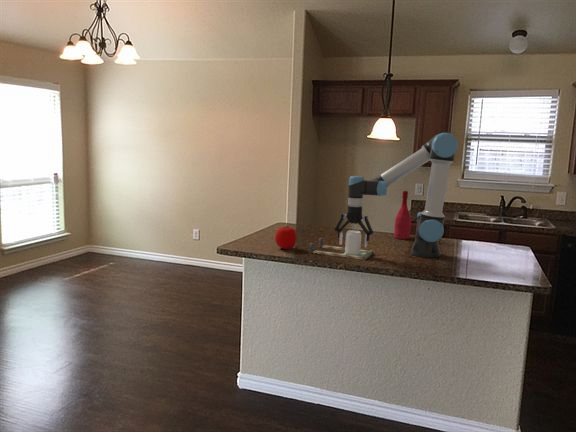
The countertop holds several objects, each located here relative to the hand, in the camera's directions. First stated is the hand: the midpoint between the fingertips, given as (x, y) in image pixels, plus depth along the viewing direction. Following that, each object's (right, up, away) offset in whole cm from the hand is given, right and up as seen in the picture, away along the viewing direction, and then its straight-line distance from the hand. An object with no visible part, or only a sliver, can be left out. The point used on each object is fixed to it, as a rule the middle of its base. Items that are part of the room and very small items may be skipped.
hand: (353, 245), depth 247 cm
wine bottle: (+37, +1, +47) cm, 60 cm away
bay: (-6, -4, +3) cm, 8 cm away
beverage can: (0, -5, +1) cm, 5 cm away
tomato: (-36, -2, +9) cm, 37 cm away
